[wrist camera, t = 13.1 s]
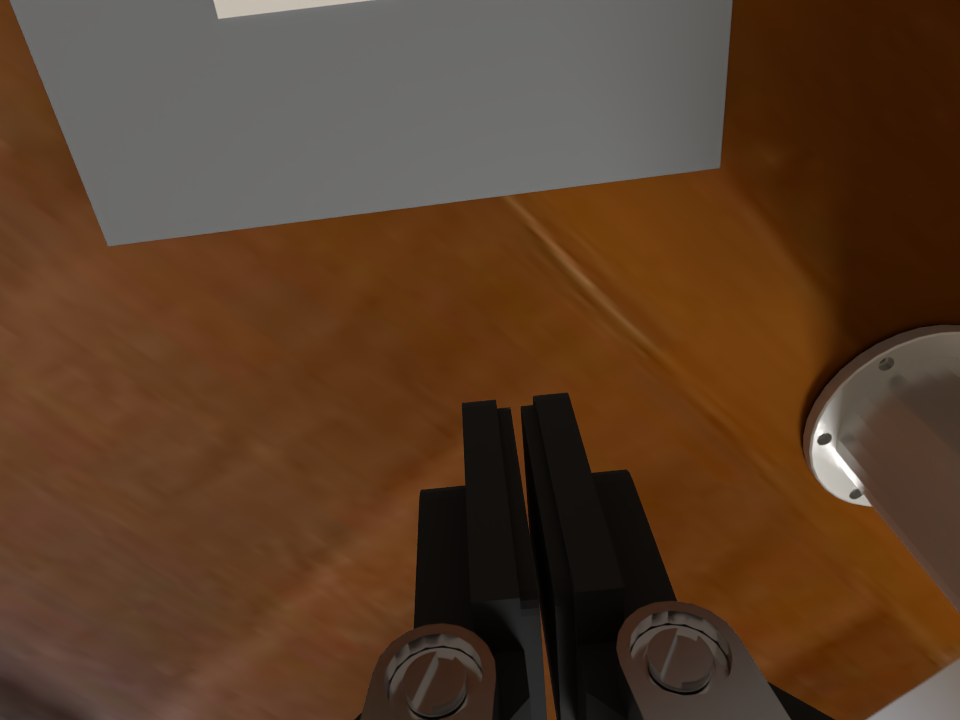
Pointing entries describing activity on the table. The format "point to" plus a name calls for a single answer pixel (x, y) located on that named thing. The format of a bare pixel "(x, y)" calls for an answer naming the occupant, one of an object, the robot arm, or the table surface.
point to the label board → (369, 102)
